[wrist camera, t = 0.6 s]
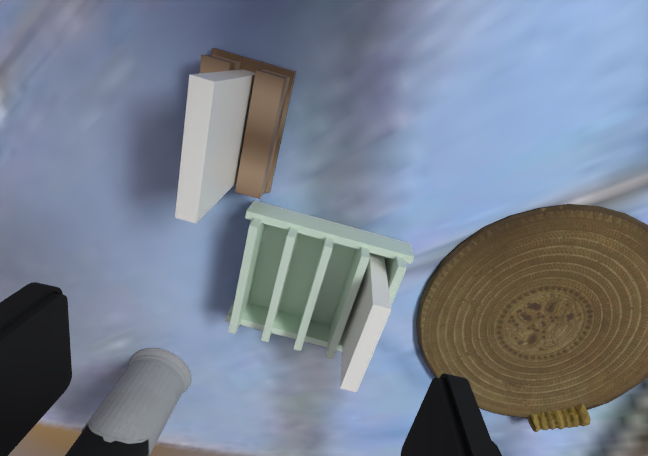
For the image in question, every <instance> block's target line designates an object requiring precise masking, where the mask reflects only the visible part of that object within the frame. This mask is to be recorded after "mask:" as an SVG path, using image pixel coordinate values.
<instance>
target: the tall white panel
mask: <svg viewBox="0 0 648 456" xmlns="http://www.w3.org/2000/svg"><path fill="white" fill-rule="evenodd" d="M254 78H255V73H254V72H251V71H247V70H244V69H241V70H231V71H221V72H211V73H200V74H190V75H189V85H188V95H187V104H186V114H185V124H184V134H183V144H182V153H181V163H180V173H179V183H178V193H177V202H176V212H175V218H178V219H182V220H185V221H189V222H193V223H197V222H198V221H199V220H200V219H201V218H202V217H203V216H204V215H205V214H206V213H207V212H208V211H209V210H210V209H211V208H212V207H213V206H214V205H215V204H216V203H217V202H218V201H219V200H220V199H221V198H222V197H223V196H224V195H225V194H226V193H227V192H228V191H229V190H230V189H231V187H232V186H233V185H234V184H235V183H236V182H237V177H238V171H239V165H240V160H241V154H242V148H243V142H244V136H245V131H246V125H247V119H248V113H249V107H250V101H251V96H252V90H253V84H254Z"/></svg>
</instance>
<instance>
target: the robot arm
mask: <svg viewBox="0 0 648 456" xmlns="http://www.w3.org/2000/svg"><path fill="white" fill-rule="evenodd" d="M71 378H72V369H71V352H70V335H69V319H68V302H67V297H66V296H65V295H63V294H62V291H61V289H60V288H58V287H54V286H49V285H45V284H40V283H36V282H34V283H30V284H28V285H26V286H25V287H23V288H22V289H20V290H19V291H17V292H16V293H14V294H13V295H11V296H10V297H8V298H7V299H5V300H4V301H2V302H1V303H0V456H8V455H9V453H10V452H11V451H12V450H13V449H14V448H15V447H16V446H17V445H18V443H19V442H20V441H21V440H22V439H23V438H24V437H25V436H26V434H27V433H28V432H29V431H30V430H31V429H32V428H33V427H34V426H35V424H36V423H37V422H38V421H39V420H40V419H41V418H42V417H43V415H44V414H45V413H46V412H47V411H48V410H49V409H50V408H51V406H52V405H53V404H54V403H55V402H56V401H57V400H58V399H59V397H60V396H61V395H62V394H63V393H64V392H65V390H66V389H67V388H68V386H69V384H70V382H71ZM401 456H502V455H501V453H500V451H499V449H498V447H497V445H496V444H495V443H494V442H493V441H491V438H490V436H489V433H488V431H487V428H486V425H485V423H484V420H483V417H482V415H481V412H480V410H479V407H478V404H477V402H476V399H475V396H474V394H473V391H472V388H471V386H470V383H469V381H468V380H467V379H466V378H463V377H459V376H454V375H450V374H445V373H443V374H442V375H441V376H440V377H439V378H434V379H433V380H432V382H431V384H430V386H429V389H428V391H427V393H426V395H425V398H424V400H423V402H422V404H421V407H420V409H419V411H418V413H417V416H416V418H415V420H414V422H413V425H412V427H411V429H410V431H409V433H408V436H407V438H406V440H405V442H404V445H403V447H402V451H401Z"/></svg>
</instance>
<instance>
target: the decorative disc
mask: <svg viewBox="0 0 648 456" xmlns="http://www.w3.org/2000/svg"><path fill="white" fill-rule="evenodd" d="M417 332H418V342H419V345H420V348H421V351H422V355H423V358H424V360H425V362H426V363H427V365H428V367H429V368H430V370H431V372H432V373H433V375H434V376H435V377H436V378H439V377H440V376H441V375H442V374H443V373H445V374H450V375H454V376H459V377H463V378H466V379H467V380H468V381H469V383H470V386H471V388H472V391H473V394H474V396H475V399H476V402H477V404H478V407H479V408H481V409H483V410H486V411H489V412H492V413H496V414H501V415H506V416H514V417H523V418H527V419H528V421H529V424H530V426H531V427H532V429H533V431H535V432H538V431H539V430H540V429H542V430H548V429H552V430H553V429H555V428H559V429H563V428H565V427H568V428H571V427H578V426H579V425H581V426H586V425H589V424H590V416H589V414H588V411H587V410H588V409H591V408H594V407H597V406H600V405H603V404H606V403H609V402H610V401H612V400H614V399H616V398H618V397H619V396H621V395H623V394H624V393H626V392H627V391H629V390H630V389H632V388H633V387H635V386H636V385H638V384H639V383H641V382H642V381H644V380H645V379H647V378H648V225H647V224H645V223H643V222H641V221H639V220H637V219H635V218H633V217H631V216H629V215H627V214H625V213H621V212H617V211H614V210H610V209H606V208H603V207H599V206H587V205H574V204H566V205H557V206H550V207H543V208H537V209H533V210H529V211H526V212H522V213H518V214H515V215H511V216H508V217H506V218H504V219H501V220H499V221H497V222H494V223H492V224H490V225H487V226H485V227H483V228H482V229H480V230H479V231H477V232H476V233H474V234H473V235H471V236H470V237H469V238H467V239H466V240H464V241H463V242H461V243H460V244H459V245H458V246H457V247H456V248H455V249H454V250H453V251H452V252H451V253H450V254H449V255H448V256H447V257H446V258H445V259H444V260H443V261H442V262H441V264H440V265H439V267H438V268H437V270H436V271H435V273H434V274H433V275H432V277H431V278H430V280H429V281H428V284H427V286H426V289H425V291H424V294H423V296H422V298H421V301H420V306H419V312H418V318H417Z"/></svg>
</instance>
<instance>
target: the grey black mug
mask: <svg viewBox="0 0 648 456" xmlns="http://www.w3.org/2000/svg"><path fill="white" fill-rule="evenodd" d="M190 383H191V373H190V370H189V368H188V366H187V365H186V364H185V362H184V361H183V360H182V359H181V358H179V357H178V356H176V355H175V354H173V353H171V352H169V351H166V350H163V349H158V348H147V349H142V350H140V351H138V352H136V353H135V354H134V355H133V356H132V358H131V359H130V362H129V367H128V368H127V370H126V371H125V373H124V374H123V375H122V377H121V378H120V379H119V381H118V382H117V383H116V385H115V386H114V387H113V389H112V390H111V391H110V393H109V394H108V395H107V397H106V398H105V400H104V401H103V402H102V404H101V405H100V406H99V408H98V409H97V410H96V412H95V413H94V414H93V416H92V417H91V418H90V420H89V421H88V422H87V424H86V425H85V427H84V428H83V430H82V433H81V435H80V436H79V437H78V439H77V440H76V442H75V443H74V444H73V446H72V447H71V448H70V450H69V451H68V452H67V454H66V455H65V456H149V455H150V453H151V451H152V449H153V447H154V446H155V444H156V442H157V440H158V438H159V436H160V434H161V432H162V430H163V428H164V426H165V425H166V423H167V421H168V419H169V417H170V415H171V413H172V411H173V409H174V407H175V405H176V404H177V402H178V400H179V398H180V396H181V394H182V393H184V392H185V391H186V390H187V389H188V387H189V386H190Z"/></svg>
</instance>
